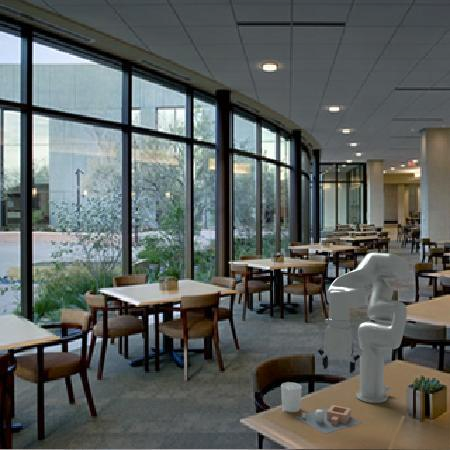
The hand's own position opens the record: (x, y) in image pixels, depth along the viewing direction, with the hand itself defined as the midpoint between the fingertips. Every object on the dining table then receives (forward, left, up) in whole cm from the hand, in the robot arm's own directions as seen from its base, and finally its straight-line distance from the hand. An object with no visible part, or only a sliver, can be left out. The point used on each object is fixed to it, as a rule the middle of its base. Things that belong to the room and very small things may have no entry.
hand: (338, 370), depth 175 cm
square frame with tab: (+1, +1, -18) cm, 18 cm away
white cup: (+9, -16, -19) cm, 27 cm away
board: (+4, -1, -19) cm, 19 cm away
